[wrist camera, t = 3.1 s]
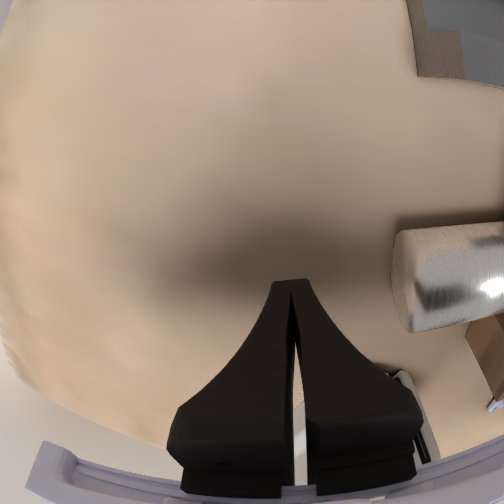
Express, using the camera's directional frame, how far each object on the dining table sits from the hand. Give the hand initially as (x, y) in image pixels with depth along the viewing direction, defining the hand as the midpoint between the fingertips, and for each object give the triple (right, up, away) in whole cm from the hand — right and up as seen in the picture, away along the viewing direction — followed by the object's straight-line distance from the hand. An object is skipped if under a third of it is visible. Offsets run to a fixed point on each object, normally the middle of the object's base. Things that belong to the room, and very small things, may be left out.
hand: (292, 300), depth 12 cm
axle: (+10, +2, 0) cm, 10 cm away
